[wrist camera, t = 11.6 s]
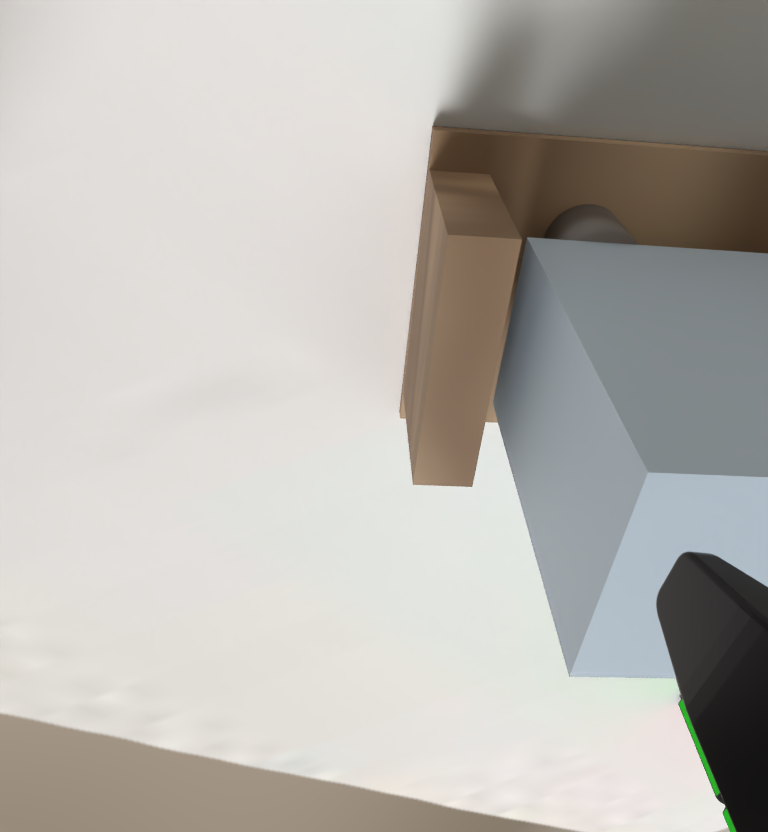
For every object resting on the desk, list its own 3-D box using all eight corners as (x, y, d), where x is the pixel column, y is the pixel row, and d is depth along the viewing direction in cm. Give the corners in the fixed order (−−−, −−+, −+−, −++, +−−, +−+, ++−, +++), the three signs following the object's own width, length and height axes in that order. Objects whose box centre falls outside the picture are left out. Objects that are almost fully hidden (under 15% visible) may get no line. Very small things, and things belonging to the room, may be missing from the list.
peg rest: (399, 411, 24) (409, 512, 20) (432, 125, 19) (454, 187, 15) (885, 432, 25) (983, 531, 21) (1043, 172, 20) (1210, 239, 16)
